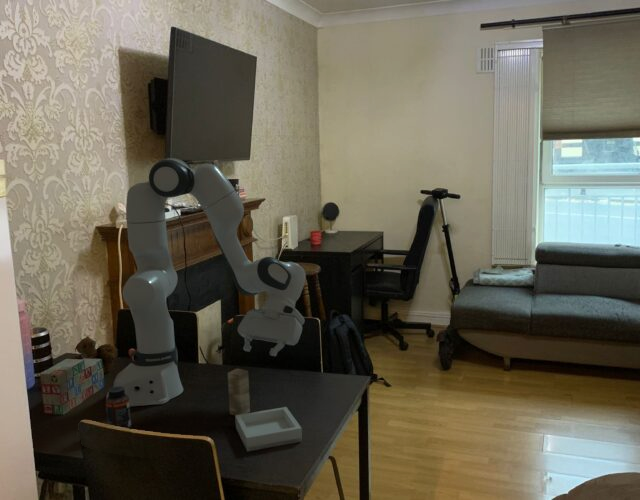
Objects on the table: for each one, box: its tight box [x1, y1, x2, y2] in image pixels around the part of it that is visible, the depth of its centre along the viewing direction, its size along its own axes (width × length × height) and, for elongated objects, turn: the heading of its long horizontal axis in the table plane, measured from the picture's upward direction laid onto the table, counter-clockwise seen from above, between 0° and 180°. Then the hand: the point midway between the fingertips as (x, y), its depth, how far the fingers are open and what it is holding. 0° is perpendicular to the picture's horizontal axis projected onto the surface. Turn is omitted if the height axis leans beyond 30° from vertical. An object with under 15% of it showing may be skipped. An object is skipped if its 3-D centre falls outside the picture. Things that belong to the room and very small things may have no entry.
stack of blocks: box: [39, 358, 105, 416], centre depth 184 cm, size 21×6×12 cm, turn 167°
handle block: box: [227, 368, 251, 416], centre depth 171 cm, size 4×4×12 cm
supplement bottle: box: [105, 386, 132, 429], centre depth 163 cm, size 6×6×11 cm
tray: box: [234, 406, 303, 452], centre depth 158 cm, size 14×14×4 cm
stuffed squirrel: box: [72, 335, 119, 374], centre depth 205 cm, size 10×14×13 cm
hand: (259, 352), depth 178 cm, fingers open, 8 cm apart
